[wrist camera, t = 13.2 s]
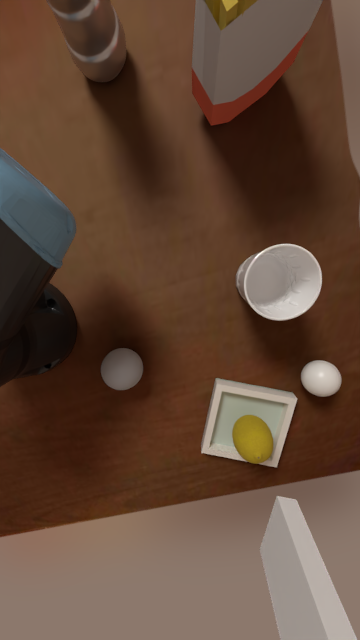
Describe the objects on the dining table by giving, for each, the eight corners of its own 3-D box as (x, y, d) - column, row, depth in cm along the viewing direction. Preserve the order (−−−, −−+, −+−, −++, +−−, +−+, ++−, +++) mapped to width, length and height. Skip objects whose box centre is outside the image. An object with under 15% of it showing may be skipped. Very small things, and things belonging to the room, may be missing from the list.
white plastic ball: (291, 383, 39) (305, 399, 34) (300, 352, 38) (316, 365, 33) (324, 389, 39) (342, 406, 34) (333, 358, 38) (354, 372, 33)
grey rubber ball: (107, 375, 40) (92, 393, 35) (111, 339, 39) (96, 352, 33) (143, 382, 40) (134, 401, 34) (149, 346, 39) (140, 360, 33)
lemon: (259, 401, 39) (274, 434, 31) (268, 431, 40) (285, 471, 32) (224, 410, 40) (231, 444, 32) (234, 439, 41) (243, 480, 33)
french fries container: (190, 103, 32) (184, -97, 14) (267, 42, 30) (365, -271, 13) (210, 136, 33) (226, -16, 15) (285, 79, 31) (405, -171, 13)
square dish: (201, 444, 42) (201, 452, 40) (215, 377, 39) (216, 383, 37) (272, 458, 42) (276, 467, 40) (292, 392, 39) (297, 399, 37)
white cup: (287, 304, 36) (321, 318, 27) (232, 308, 37) (245, 323, 27) (287, 247, 35) (323, 240, 25) (229, 253, 35) (242, 247, 26)
